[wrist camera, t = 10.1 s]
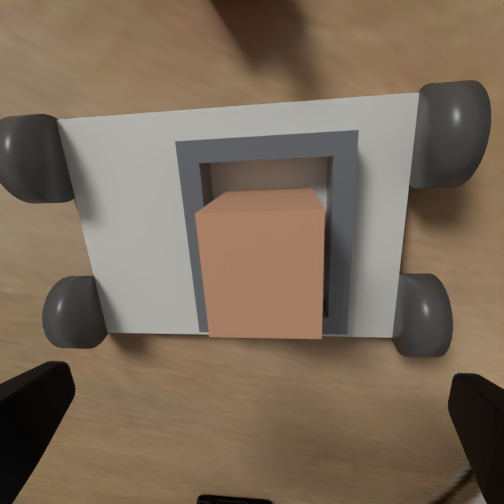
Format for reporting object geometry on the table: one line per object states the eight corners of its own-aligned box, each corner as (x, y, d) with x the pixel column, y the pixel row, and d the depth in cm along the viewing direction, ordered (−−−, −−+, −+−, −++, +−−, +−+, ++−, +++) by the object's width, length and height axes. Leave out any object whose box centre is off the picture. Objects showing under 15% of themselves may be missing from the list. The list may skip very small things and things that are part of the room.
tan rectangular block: (310, 276, 17) (321, 339, 12) (234, 276, 18) (209, 337, 12) (311, 186, 16) (324, 209, 10) (227, 190, 16) (194, 213, 10)
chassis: (410, 326, 19) (444, 375, 15) (98, 322, 22) (54, 364, 18) (441, 90, 15) (501, 68, 11) (48, 119, 17) (-26, 111, 13)
